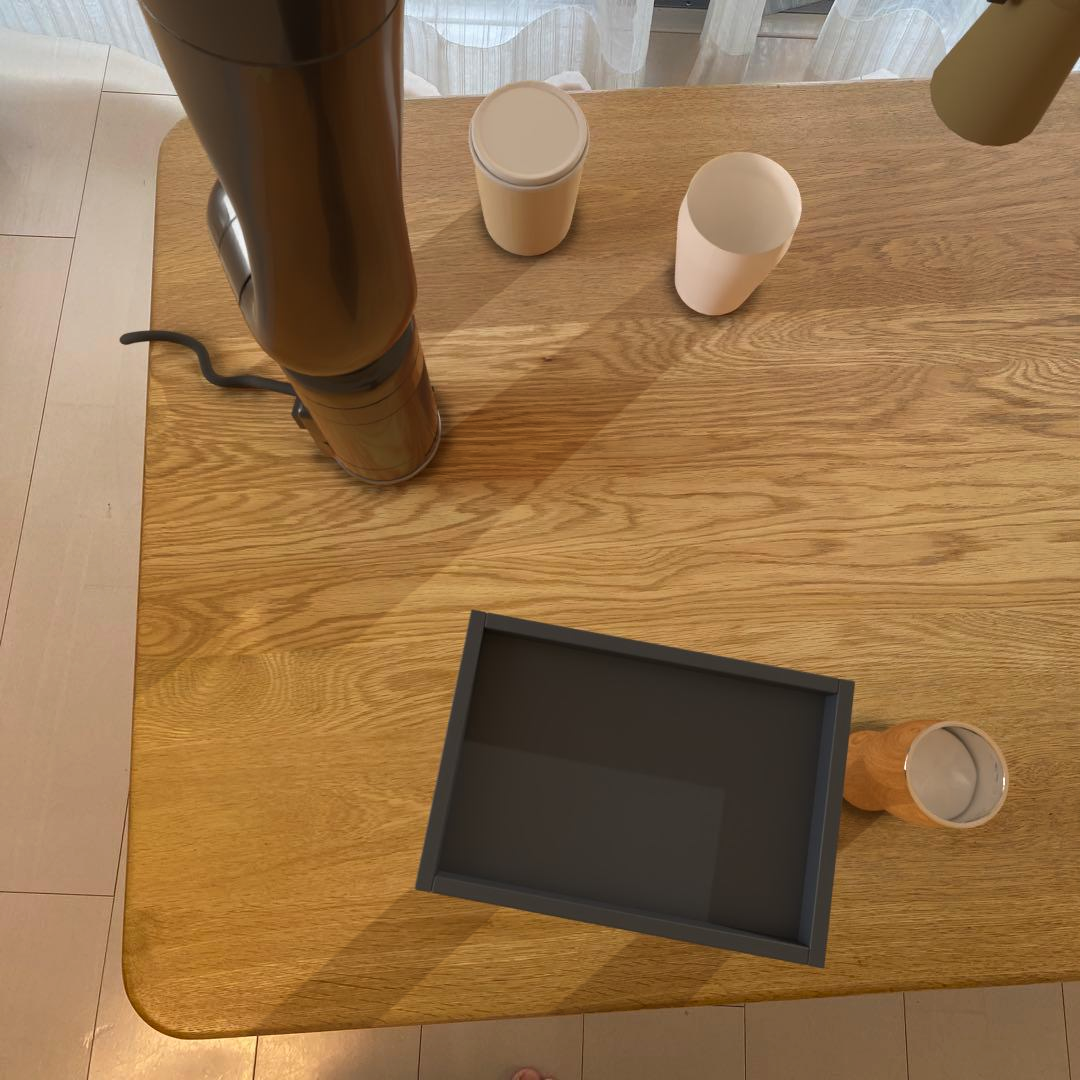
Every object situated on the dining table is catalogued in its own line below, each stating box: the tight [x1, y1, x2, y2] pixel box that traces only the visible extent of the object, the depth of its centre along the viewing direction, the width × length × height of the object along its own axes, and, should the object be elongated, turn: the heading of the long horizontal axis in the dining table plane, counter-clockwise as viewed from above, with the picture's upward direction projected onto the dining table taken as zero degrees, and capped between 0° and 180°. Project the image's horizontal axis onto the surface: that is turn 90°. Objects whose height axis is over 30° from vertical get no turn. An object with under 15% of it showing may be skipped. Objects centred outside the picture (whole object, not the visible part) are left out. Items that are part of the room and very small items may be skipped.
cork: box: [929, 0, 1080, 147], centre depth 43 cm, size 6×6×11 cm
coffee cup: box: [468, 79, 591, 257], centre depth 77 cm, size 9×9×12 cm
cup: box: [674, 151, 803, 316], centre depth 76 cm, size 9×9×12 cm
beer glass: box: [843, 718, 1010, 829], centre depth 65 cm, size 7×7×15 cm
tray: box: [414, 609, 856, 969], centre depth 59 cm, size 20×14×28 cm
